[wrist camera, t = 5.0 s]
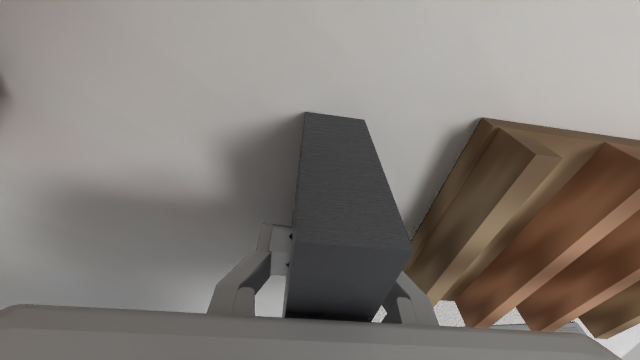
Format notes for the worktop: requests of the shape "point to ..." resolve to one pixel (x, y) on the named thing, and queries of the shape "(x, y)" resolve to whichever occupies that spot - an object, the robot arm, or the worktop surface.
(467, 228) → the rack
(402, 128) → the worktop surface
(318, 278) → the block
